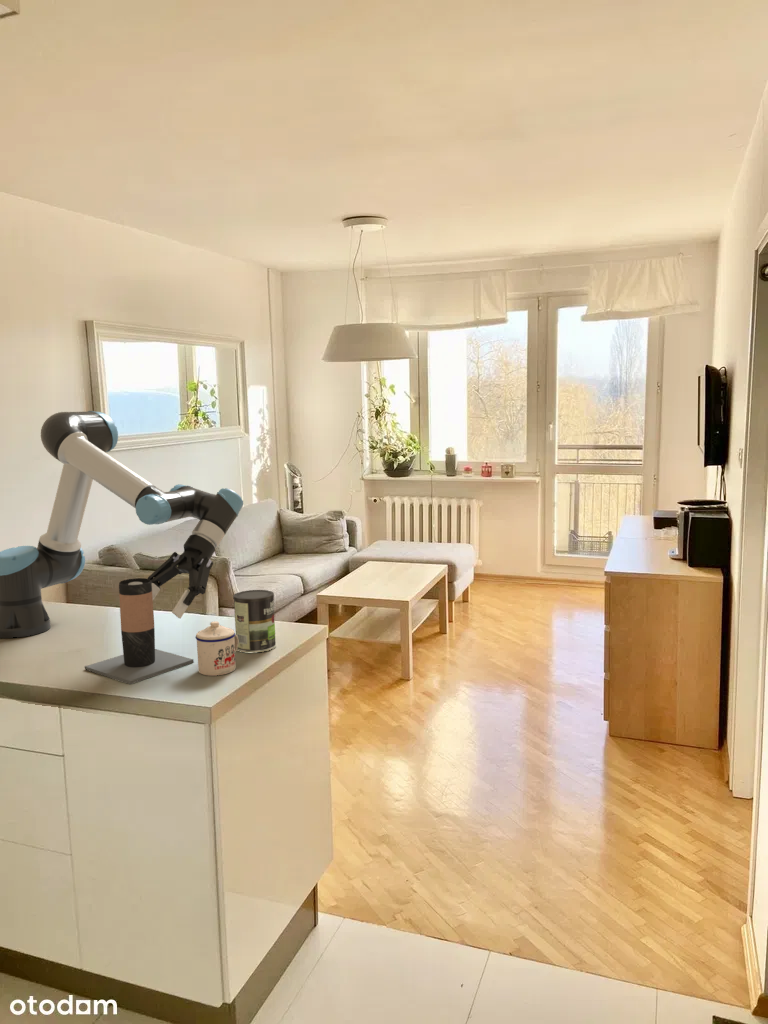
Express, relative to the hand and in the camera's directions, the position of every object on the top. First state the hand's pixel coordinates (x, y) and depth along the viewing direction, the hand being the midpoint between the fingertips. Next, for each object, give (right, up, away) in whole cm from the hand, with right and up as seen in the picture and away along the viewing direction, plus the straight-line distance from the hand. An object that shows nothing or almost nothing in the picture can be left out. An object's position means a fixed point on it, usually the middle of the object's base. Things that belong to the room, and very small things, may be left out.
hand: (158, 611), depth 191 cm
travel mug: (-4, -12, -3) cm, 13 cm away
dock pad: (-4, -13, -3) cm, 14 cm away
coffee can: (+22, -11, +10) cm, 27 cm away
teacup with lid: (+17, -13, -6) cm, 22 cm away
